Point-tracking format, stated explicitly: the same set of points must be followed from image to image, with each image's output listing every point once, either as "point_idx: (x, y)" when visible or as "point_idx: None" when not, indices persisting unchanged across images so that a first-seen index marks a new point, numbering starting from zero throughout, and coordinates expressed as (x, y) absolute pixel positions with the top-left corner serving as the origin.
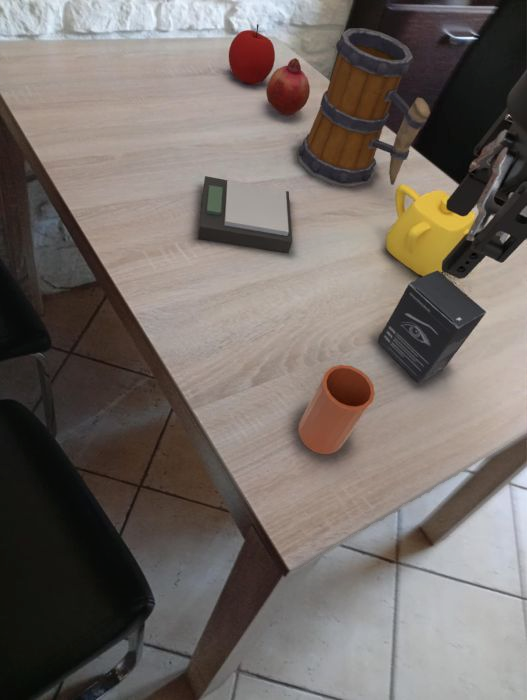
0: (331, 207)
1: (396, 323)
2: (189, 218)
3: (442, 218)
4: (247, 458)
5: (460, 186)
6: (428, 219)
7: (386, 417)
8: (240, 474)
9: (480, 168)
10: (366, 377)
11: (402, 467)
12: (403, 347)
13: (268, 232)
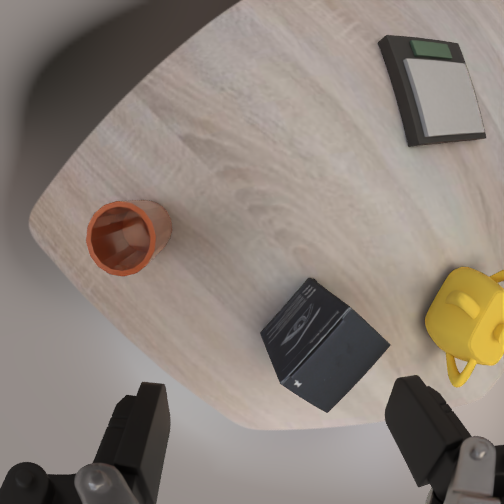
0: (489, 196)
1: (315, 297)
2: (401, 33)
3: (486, 331)
4: (92, 158)
5: (433, 416)
6: (482, 314)
7: (196, 299)
8: (75, 157)
9: (449, 486)
10: (144, 262)
11: (141, 320)
12: (292, 311)
13: (419, 112)
